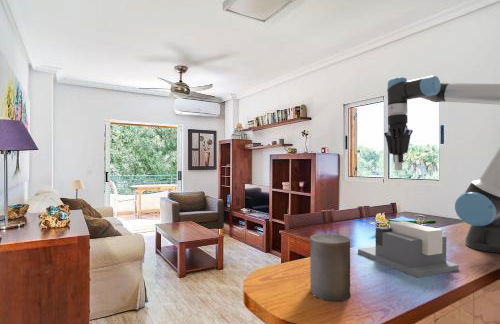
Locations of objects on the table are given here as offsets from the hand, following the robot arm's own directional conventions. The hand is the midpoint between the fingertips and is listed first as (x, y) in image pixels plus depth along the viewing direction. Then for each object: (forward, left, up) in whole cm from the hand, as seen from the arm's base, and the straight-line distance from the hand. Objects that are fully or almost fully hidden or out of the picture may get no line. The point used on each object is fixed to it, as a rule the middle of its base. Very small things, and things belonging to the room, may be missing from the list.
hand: (398, 170), depth 130 cm
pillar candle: (+32, +62, -29) cm, 75 cm away
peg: (+4, +35, -24) cm, 42 cm away
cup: (-4, +10, -29) cm, 31 cm away
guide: (+6, +32, -29) cm, 43 cm away
